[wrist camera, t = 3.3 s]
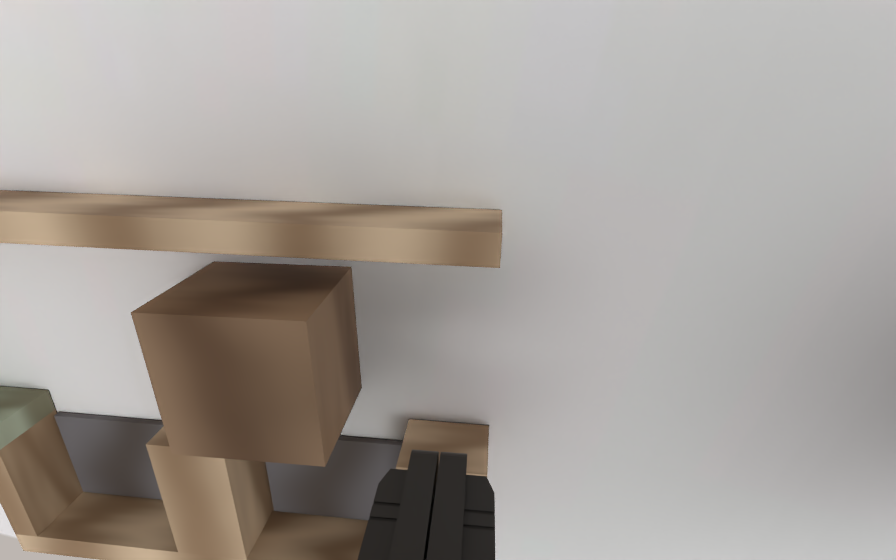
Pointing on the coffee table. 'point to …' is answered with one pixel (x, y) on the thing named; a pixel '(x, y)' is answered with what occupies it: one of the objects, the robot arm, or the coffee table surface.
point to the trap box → (144, 441)
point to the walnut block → (254, 361)
